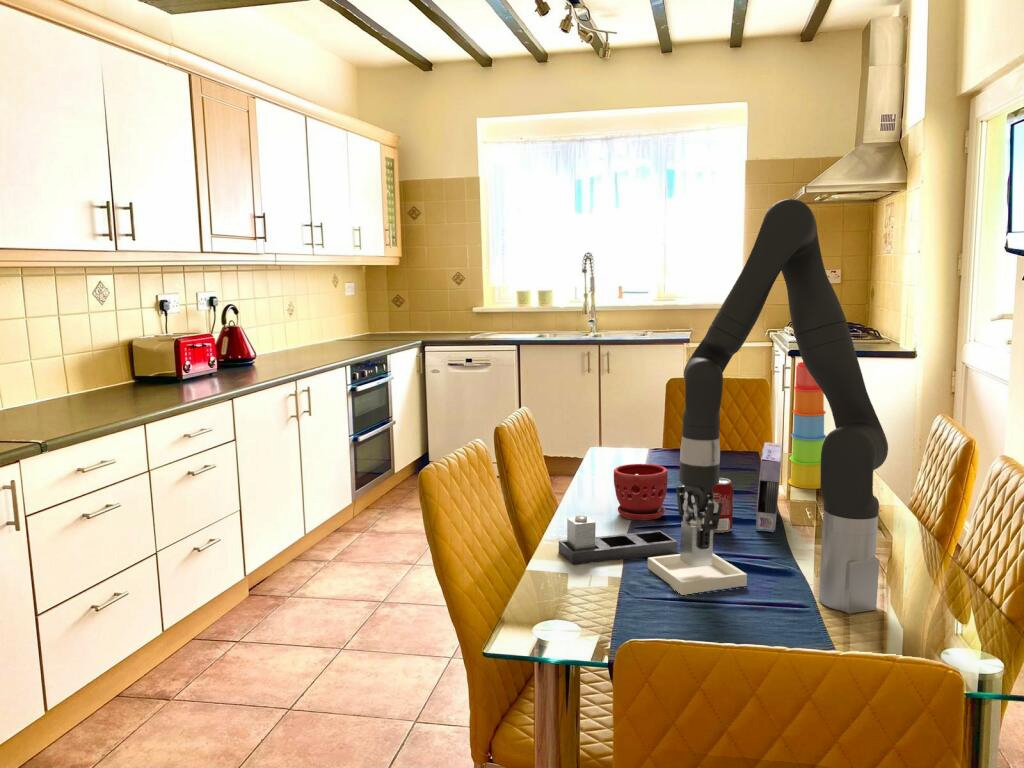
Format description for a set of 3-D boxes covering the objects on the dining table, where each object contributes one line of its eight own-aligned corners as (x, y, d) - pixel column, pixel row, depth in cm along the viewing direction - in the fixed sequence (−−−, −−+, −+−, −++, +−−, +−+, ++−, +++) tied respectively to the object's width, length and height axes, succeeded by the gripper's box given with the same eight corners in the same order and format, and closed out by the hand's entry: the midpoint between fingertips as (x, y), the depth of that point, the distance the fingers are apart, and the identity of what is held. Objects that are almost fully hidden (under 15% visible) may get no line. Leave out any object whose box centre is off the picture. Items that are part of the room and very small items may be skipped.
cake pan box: (777, 535, 191) (780, 460, 189) (754, 533, 193) (757, 458, 190) (779, 512, 209) (782, 442, 207) (758, 510, 211) (761, 441, 208)
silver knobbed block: (711, 565, 164) (713, 522, 162) (691, 567, 162) (693, 524, 161) (700, 557, 168) (701, 516, 167) (680, 559, 166) (681, 518, 165)
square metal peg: (595, 559, 174) (595, 519, 173) (574, 561, 173) (575, 521, 172) (586, 552, 179) (587, 513, 177) (567, 554, 177) (567, 515, 176)
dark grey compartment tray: (677, 555, 178) (677, 541, 178) (572, 567, 171) (572, 553, 171) (659, 543, 186) (659, 530, 186) (558, 554, 179) (558, 541, 178)
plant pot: (660, 507, 213) (661, 461, 211) (671, 523, 200) (673, 474, 198) (609, 508, 213) (610, 462, 211) (617, 524, 200) (618, 475, 198)
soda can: (732, 536, 191) (734, 484, 189) (702, 534, 192) (704, 483, 190) (731, 526, 197) (733, 477, 196) (701, 525, 199) (703, 476, 197)
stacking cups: (830, 490, 229) (837, 364, 224) (791, 488, 231) (797, 364, 226) (822, 480, 239) (829, 360, 234) (785, 479, 241) (791, 359, 236)
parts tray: (746, 587, 161) (747, 574, 160) (681, 595, 157) (682, 582, 156) (708, 562, 174) (708, 550, 174) (647, 569, 170) (647, 557, 169)
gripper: (737, 467, 156) (733, 554, 159) (698, 450, 170) (695, 531, 172) (701, 469, 154) (698, 558, 157) (665, 452, 168) (662, 534, 170)
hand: (696, 543), depth 164 cm, fingers closed on silver knobbed block, 4 cm apart
